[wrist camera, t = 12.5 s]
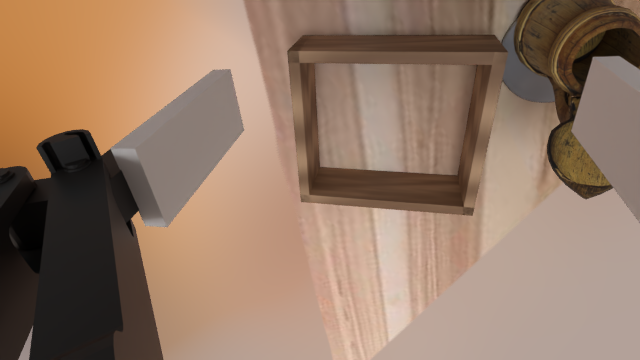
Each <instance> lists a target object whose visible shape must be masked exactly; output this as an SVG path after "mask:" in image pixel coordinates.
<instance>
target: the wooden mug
mask: <svg viewBox="0 0 640 360" xmlns="http://www.w3.org/2000/svg"><path fill="white" fill-rule="evenodd" d="M514 47H515V52H516V54H517V56H518V58H519V60H520V62H521V63H522V64H524V65H525V66H526V67H527V68H528V69H530V70H531V71H533V72H534V73H536V74H537V75H539V76H542V77H546V78H548V79H549V81H550V82H551V84H552V87H553V91H554V97H555V104H556V109H557V114H558V118H559V120H560V122H561V123H560V124H559V125H558V126H557V127H555V128H554V129H553V130H552V131H551V133H550V136H549V140H548V144H547V154H548V159H549V162H550V164H551V167H552V169H553V171H554V172H555V173H556V175H557V176H558V177H559V179H560V180H562V181H563V182H564V183H565V185H567V186H568V187H569V188H570V189H572V190H573V191H574V192H576V193H577V194H578V195H579V196H581V197H582V198H584V199H588V198H591V197H594V196H597V195H600V194H602V193H604V192H606V191H608V190H610V189H612V188H613V186H612V185H611V184H610V182H609V181H608V180H607V178H606V177H605V176H604V174H603V173H602V172H601V170H600V169H599V168H598V166H597V165H596V164H595V162H594V161H593V160H592V158H591V157H590V156H589V154H588V153H587V152H586V150H585V149H584V148H583V146H582V145H581V144H580V142H579V141H578V140H577V138H576V137H575V136H574V134H573V133H572V132H571V130H572V127H573V123H574V120H575V117H576V113H577V110H578V107H579V103H580V100H581V96H582V93H583V90H584V86H585V83H586V80H587V76H588V73H589V69H590V66H591V63H592V59H593V57H608V56H620V57H621V58H623V59H624V60H626V61H628V62H629V63H631V64H632V65H634V66H635V67H637V68H638V69H640V18H639V17H638V16H637V15H636V14H634V13H633V12H632V11H631V10H630V9H628V8H624V7H620V6H616V5H615V3H614V2H613V0H530V1H529V2H528V3H527V5H526V6H525V7H524V8H523V10H522V12H521V14H520V16H519V17H518V20H517V24H516V27H515V31H514ZM572 96H574V97H572ZM575 96H576V97H575Z"/></svg>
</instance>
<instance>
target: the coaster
mask: <svg viewBox="0 0 640 360" xmlns="http://www.w3.org/2000/svg"><path fill="white" fill-rule="evenodd" d="M517 20H518V19H517ZM517 20H516V21H515V22H514V23H513V24H512V25H511V27H510V28H509V30H508V31H507V33H506V35H505V36H504V38H503V41H502V43H501V44H502V45H503V46H504V47H505V49H506V50H507V51H508V56H507V60H506V65H505V69H504V74H503V81H504V82H505V84H506V85H507V87H508V88H509V89H510V90H511V91H512V92H513V93H514V94H516V95H517V96H519V97H521V98H523V99H526V100H529V101H533V102H555V97H554V91H553V87H552V84H551V82H550V81H549V79H548V78H546V77H542V76H539V75H537V74H536V73H534V72H533V71H531V70H530V69H528V68H527V67H526V66H525V65H524V64H522V63H521V62H520V60H519V58H518V56H517V54H516V52H515V47H514V31H515V27H516V24H517Z"/></svg>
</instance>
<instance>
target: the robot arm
mask: <svg viewBox="0 0 640 360" xmlns="http://www.w3.org/2000/svg"><path fill="white" fill-rule="evenodd" d="M243 131H244V128H243V123H242V119H241V114H240V110H239V106H238V101H237V97H236V92H235V88H234V83H233V79H232V74H231V70H230V69H226V70H213V71H211V72H210V73H209V74H207V75H206V76H205V77H203V78H202V79H201V80H199V81H198V82H197V83H195V84H194V85H193V86H191V87H190V88H189V89H188V90H186V91H185V92H184V93H182V94H181V95H180V96H178V97H177V98H176V99H175V100H173V101H172V102H171V103H169V104H168V105H167V106H165V107H164V108H163V109H161V110H160V111H159V112H157V113H156V114H155V115H154V116H152V117H151V118H150V119H148V120H147V121H146V122H144V123H143V124H142V125H141V126H139V127H138V128H137V129H135V130H134V131H132V132H131V133H130V134H129V135H127V136H126V137H125V138H123V139H122V140H121V141H119V142H118V143H117V144H115V145H114V146H113V147H111V149H110V150H109V151H107V152H106V153H104V154H103V155H102V156H101V155H100V153H99V150H98V148H97V146H96V144H95V142H94V140H93V138H92V136H91V133H90V132H89V131H88V130H83V129H82V130H71V131H66V132H63V133H59V134H56V135H54V136H51V137H49V138H47V139H45V140H44V141H42V142H41V143H39V145H38V146H37V150H38V151H39V153H40V155H41V157H42V159H43V160H44V161H45V164H46V165H47V167H48V169H49V171H50V172H51V178H46V179H39V180H34V179H33V178H32V176H31V174H30V173H29V171H28V170H27V168H26V167H22V166H15V167H8V168H0V360H18V359H19V356H20V354H21V351H22V349H23V347H24V345H25V342H26V340H27V338H28V336H29V333H30V331H31V328H32V326H33V332H32V340H31V349H30V357H29V360H163V355H162V351H161V346H160V341H159V337H158V332H157V327H156V323H155V318H154V314H153V309H152V304H151V299H150V295H149V290H148V285H147V281H146V276H145V271H144V267H143V262H142V258H141V253H140V248H139V243H138V238H137V234H136V229H135V227H134V224H133V222H132V220H131V218H132V217H133V216H134V215H135V214H136V213H137V212H138V211H139V213H140V215H141V217H142V220H143V221H144V224H145V226H157V227H168V226H169V224H170V223H171V222H172V221H173V219H174V218H175V217H176V215H177V214H178V213H179V212H180V210H181V209H182V208H183V207H184V205H185V204H186V203H187V202H188V200H189V199H190V198H191V197H192V195H193V194H194V192H195V191H196V190H197V189H198V188H199V186H200V185H201V184H202V183H203V181H204V180H205V179H206V177H207V176H208V175H209V174H210V173H211V171H212V170H213V169H214V168H215V166H216V165H217V164H218V162H219V161H220V160H221V159H222V157H223V156H224V155H225V154H226V152H227V151H228V150H229V148H230V147H231V146H232V145H233V144H234V142H235V141H236V140H237V139H238V137H239V136H240V135H241V133H242V132H243ZM571 132H572V133H573V134H574V136H575V137H576V138H577V140H578V141H579V142H580V144H581V145H582V146H583V148H584V149H585V150H586V152H587V153H588V154H589V156H590V157H591V158H592V160H593V161H594V162H595V164H596V165H597V166H598V168H599V169H600V170H601V172H602V173H603V174H604V176H605V177H606V178H607V180H608V181H609V182H610V184H611V185H612V186H613V188H614V189H615V190H616V192H617V193H618V194H619V196H620V197H621V198H622V200H623V201H624V202H625V204H626V205H627V207H628V208H629V209H630V210H631V212H632V213H633V214H634V216H635V217H636V219H637V220H638V221H639V223H640V69H638V68H637V67H635V66H634V65H632V64H631V63H629V62H628V61H626V60H624V59H623V58H621V57H620V56H608V57H593V59H592V63H591V66H590V69H589V73H588V76H587V80H586V83H585V86H584V90H583V93H582V96H581V100H580V103H579V107H578V110H577V113H576V117H575V120H574V123H573V127H572V130H571Z"/></svg>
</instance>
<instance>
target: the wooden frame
mask: <svg viewBox="0 0 640 360" xmlns="http://www.w3.org/2000/svg"><path fill="white" fill-rule="evenodd" d="M287 52H288V63H289V74H290V85H291V96H292V107H293V119H294V130H295V141H296V152H297V163H298V174H299V186H300V197H301V202H309V203H321V204H334V205H346V206H358V207H371V208H383V209H396V210H408V211H420V212H433V213H445V214H458V215H470V216H473V211H474V207H475V202H476V197H477V193H478V188H479V184H480V179H481V175H482V170H483V165H484V161H485V156H486V152H487V147H488V143H489V138H490V133H491V129H492V124H493V120H494V115H495V111H496V106H497V101H498V97H499V92H500V88H501V83H502V79H503V74H504V69H505V65H506V60H507V56H508V51H507V50H506V49H505V47H504V46H503V45H502V44H501V42H500V41H499V40H498V39H497V37H496V36H495V35H343V36H302V37H301V38H300V39H299V40H298V41H297V42H296V43H295V44H294V45H293V46H292V47H291V48H290V49H289V50H288V51H287ZM314 63H358V64H452V65H477V71H476V76H475V82H474V87H473V93H472V99H471V104H470V110H469V115H468V121H467V127H466V132H465V138H464V143H463V149H462V154H461V160H460V166H459V171H458V176H451V175H435V174H419V173H403V172H387V171H371V170H355V169H339V168H323V167H320V163H319V144H318V125H317V106H316V87H315V68H314Z"/></svg>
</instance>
